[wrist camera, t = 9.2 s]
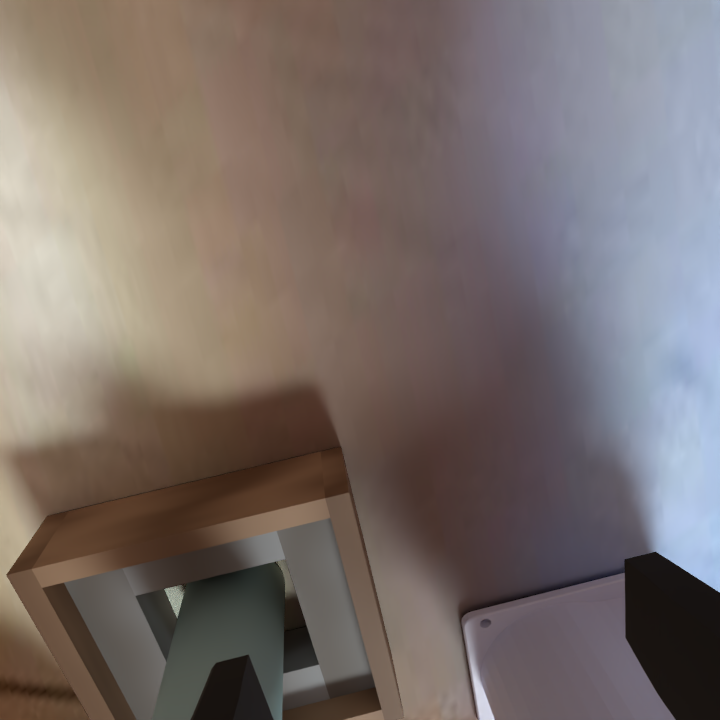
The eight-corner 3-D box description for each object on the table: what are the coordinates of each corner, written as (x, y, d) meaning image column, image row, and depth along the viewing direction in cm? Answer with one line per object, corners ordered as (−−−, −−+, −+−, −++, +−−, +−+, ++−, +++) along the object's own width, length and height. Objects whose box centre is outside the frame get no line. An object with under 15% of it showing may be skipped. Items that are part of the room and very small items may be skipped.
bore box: (341, 446, 20) (349, 492, 17) (391, 653, 24) (404, 718, 21) (47, 516, 19) (6, 574, 17) (149, 715, 24) (130, 789, 21)
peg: (275, 540, 21) (263, 789, 13) (292, 614, 23) (291, 881, 14) (175, 558, 21) (95, 824, 12) (199, 632, 22) (141, 915, 14)
